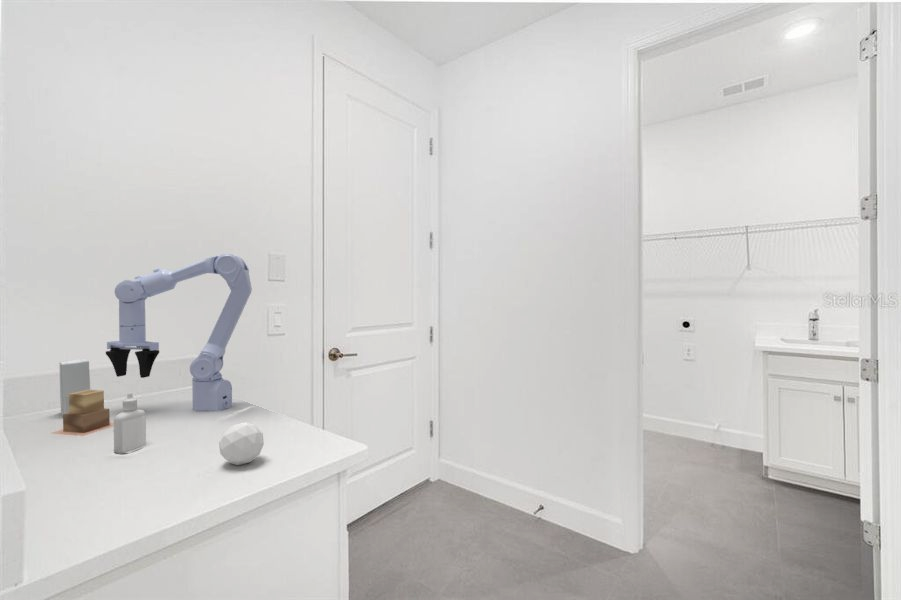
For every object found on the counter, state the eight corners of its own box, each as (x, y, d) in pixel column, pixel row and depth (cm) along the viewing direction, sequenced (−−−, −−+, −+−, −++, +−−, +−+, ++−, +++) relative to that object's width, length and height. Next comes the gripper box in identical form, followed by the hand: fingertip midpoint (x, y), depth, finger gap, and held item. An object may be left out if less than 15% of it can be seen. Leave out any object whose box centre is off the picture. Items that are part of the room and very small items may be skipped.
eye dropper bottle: (148, 449, 92) (148, 392, 92) (115, 456, 88) (114, 397, 88) (144, 444, 95) (143, 389, 95) (112, 451, 91) (111, 393, 91)
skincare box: (91, 417, 116) (91, 361, 116) (61, 422, 112) (60, 363, 111) (88, 411, 122) (88, 357, 122) (59, 415, 118) (58, 360, 117)
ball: (242, 480, 84) (228, 457, 79) (219, 457, 87) (204, 434, 83) (276, 452, 88) (265, 428, 83) (253, 431, 92) (241, 407, 87)
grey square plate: (165, 419, 114) (165, 416, 114) (103, 441, 97) (103, 437, 97) (114, 416, 117) (114, 413, 117) (45, 436, 101) (45, 432, 101)
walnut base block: (109, 425, 106) (109, 408, 106) (84, 433, 100) (84, 415, 100) (89, 423, 107) (89, 407, 107) (63, 431, 101) (62, 414, 101)
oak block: (103, 409, 105) (103, 390, 105) (85, 414, 101) (84, 394, 101) (88, 408, 106) (88, 389, 106) (69, 413, 102) (68, 394, 102)
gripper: (95, 326, 115) (96, 378, 115) (142, 327, 112) (142, 380, 112) (120, 324, 122) (121, 373, 122) (165, 325, 119) (165, 375, 119)
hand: (133, 376), depth 118 cm, fingers open, 7 cm apart
